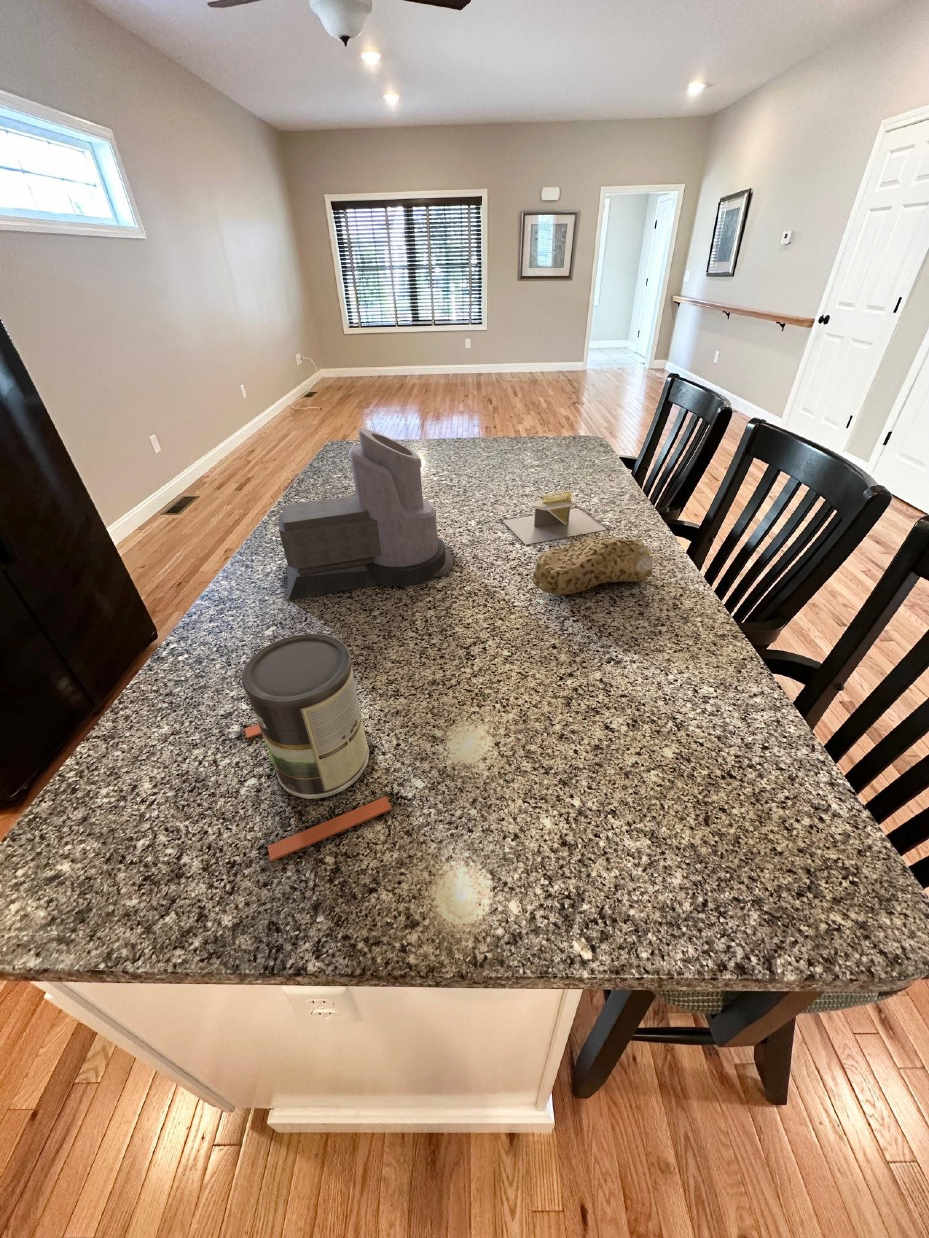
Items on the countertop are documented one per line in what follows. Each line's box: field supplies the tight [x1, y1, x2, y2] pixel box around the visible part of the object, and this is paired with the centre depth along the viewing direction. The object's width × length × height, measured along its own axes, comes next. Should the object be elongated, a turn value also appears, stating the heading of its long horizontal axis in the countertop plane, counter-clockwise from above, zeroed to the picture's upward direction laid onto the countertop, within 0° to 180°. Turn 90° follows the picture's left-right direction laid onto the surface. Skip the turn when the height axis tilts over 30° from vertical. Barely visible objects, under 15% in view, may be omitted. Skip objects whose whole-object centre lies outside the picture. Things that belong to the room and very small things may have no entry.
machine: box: [278, 427, 454, 601], centre depth 87 cm, size 30×16×24 cm, turn 107°
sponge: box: [532, 537, 653, 596], centre depth 85 cm, size 13×8×20 cm
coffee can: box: [241, 633, 370, 800], centre depth 54 cm, size 10×10×14 cm
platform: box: [502, 490, 607, 545], centre depth 105 cm, size 12×18×7 cm, turn 109°
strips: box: [244, 723, 393, 862], centre depth 57 cm, size 12×19×1 cm, turn 26°
